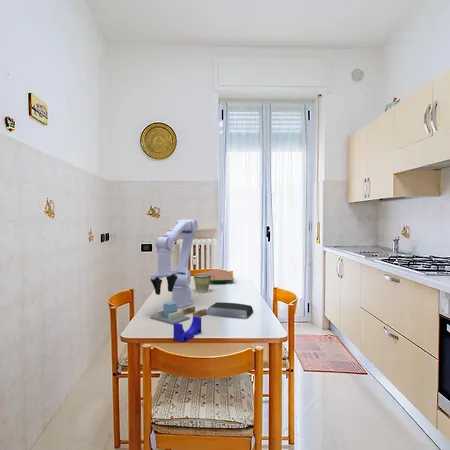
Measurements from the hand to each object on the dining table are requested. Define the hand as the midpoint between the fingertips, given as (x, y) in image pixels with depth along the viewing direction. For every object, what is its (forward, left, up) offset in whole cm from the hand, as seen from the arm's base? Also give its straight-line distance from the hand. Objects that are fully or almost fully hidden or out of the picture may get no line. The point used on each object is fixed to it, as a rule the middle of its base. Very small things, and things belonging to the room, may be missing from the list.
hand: (164, 293), depth 162 cm
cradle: (-7, +12, -9) cm, 17 cm away
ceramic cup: (-47, -16, -10) cm, 51 cm away
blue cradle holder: (+15, +30, -10) cm, 35 cm away
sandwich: (-80, -34, -10) cm, 87 cm away
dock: (+4, +8, -9) cm, 13 cm away
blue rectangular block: (+4, +8, -9) cm, 12 cm away
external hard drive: (-19, +23, -10) cm, 32 cm away
